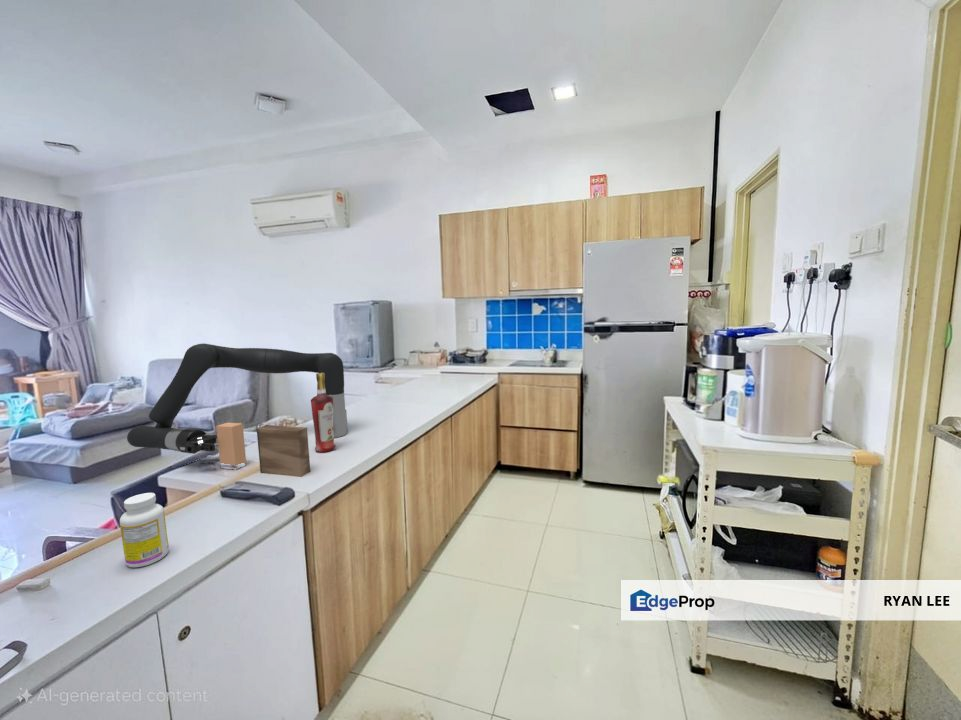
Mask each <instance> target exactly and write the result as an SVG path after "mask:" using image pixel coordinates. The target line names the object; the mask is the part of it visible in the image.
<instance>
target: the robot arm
mask: <svg viewBox="0 0 961 720" xmlns="http://www.w3.org/2000/svg"><path fill="white" fill-rule="evenodd" d="M216 368H234V369H239V370H245V371H250V372H255V373H261V374H291V373H298V372H299V373H301V372H308V373H314V374H317V373H324V376H325V379H324V384H325V390H326V395H329V396H331V397H332V398H333V432H334V439H335V438H336V439H337V438H341V437H343V436H346V435H347V433H348V417H347V414H348V412H347V409H346V402H345V401H346V398H345V372H344V371H345V370H344V362H343V360H342V358H341V357H340V356H339V355H338V354H335V353H333V352H323V353H321V352H320V353H307V352H306V353H305V352H298V351H293V350H287V349H278V348H264V347H262V348H261V347H244V348H243V347H242V348H238V347H237V348H235V347H227V346H222V345H221V346H220V345H215V344H210V343H196V344H194V345H192V346H189V347H188V348H187V349H186V351H185V353H184V355H183V358H182V360H181V363H180V365H179V368H178V369H177V371H176V373H175V375H174V377H173V379H172V380H171V381H170V383H169V385H168V386H167V387H166V389H165V390H164V392H163V393H162V394H161V396H160V397H159V398H158V400H157V401H156V403H155V404H154V406H153V407H152V409H151V410H150V411H149V414H148V418H149V419H150V421H152V422H155V423H156V425H155V426H148V425H137V426H135V427H133V428H131V429H130V430H129V432H128V433H127V435H126V441H127V442H128V444H129V445H131V447H135V448H149V449H151V448H152V449H162V450H169V451H174V452H180V453H187V454H192V455H193V454H197V453H200V452H201V453H203V452H210V453H211V452H214V451H215V450H216V447H215V446H216V445H217V446H218V441H217V431H216V433H206V432H205V431H204V430H202V429H200V428H199V429H198V428H188V427H187V428H183V427H181V428H179V427H178V428H175V427H173V428H172V426H173V423H174V420H175V419H176V417H177V416H178V414H179V413H180V411H181V410H182V408H183V407H184V405H185V403H186V401H187V399H188V397H189V396H190V394H191V391H192V390H193V388H194V386H195V385H196V383H197V382H198V381H199V380H200V378H201V377H202V376H204V374H206V372H207V371H208V370H210V369H216Z"/></svg>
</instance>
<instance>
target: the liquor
mask: <svg viewBox="0 0 961 720" xmlns="http://www.w3.org/2000/svg"><path fill="white" fill-rule="evenodd" d="M315 376H316V377H315V378H316V383H317V385H316V388H317V389H316V395H315V396H313V397H312V398H311V399H310V404H311V414H312V421H313V430H314V439H315V447H314V450H315V451H317V452H318V453H328V452H331V451H333V450H334V448H336V444H335V438H334V432H333V398H332V397H331V396H329V395H326V390H325V384H324V379H325V376H324V373H315Z"/></svg>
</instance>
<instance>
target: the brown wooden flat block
mask: <svg viewBox="0 0 961 720" xmlns="http://www.w3.org/2000/svg"><path fill="white" fill-rule="evenodd" d="M308 435H309V434H308V427H306V426H305V427H304V426H289V425H288V426H287V425H274V424H273V425H271V424H266V425H262V426H259V427H257V428H256V437H257V439H256V440H257V449H258V450H257V451H258V458H259V459H258V460H259V469H260V470H259V471H260V474H267V475H277V476H286V477H287V476H288V477H289V476H290V477H296V478H302V477H304V476H305V475H307V474H309V473H310V472H311V465H310V464H311V463H310V462H311V461H310V452H309V451H310V450H309V436H308Z"/></svg>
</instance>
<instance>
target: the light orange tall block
mask: <svg viewBox="0 0 961 720" xmlns="http://www.w3.org/2000/svg"><path fill="white" fill-rule="evenodd" d="M215 427H216V432H217V433H216V434H217V438H216V440H217V442H218V445H217V447H218V457H219V464H220V463H224V464H230V465H234V466H236V465H238V464H241V463H246V464H247V456H246V447H245V436H244V425H243V423H241V422H225V423H221V424H218V425H216V426H215Z"/></svg>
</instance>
